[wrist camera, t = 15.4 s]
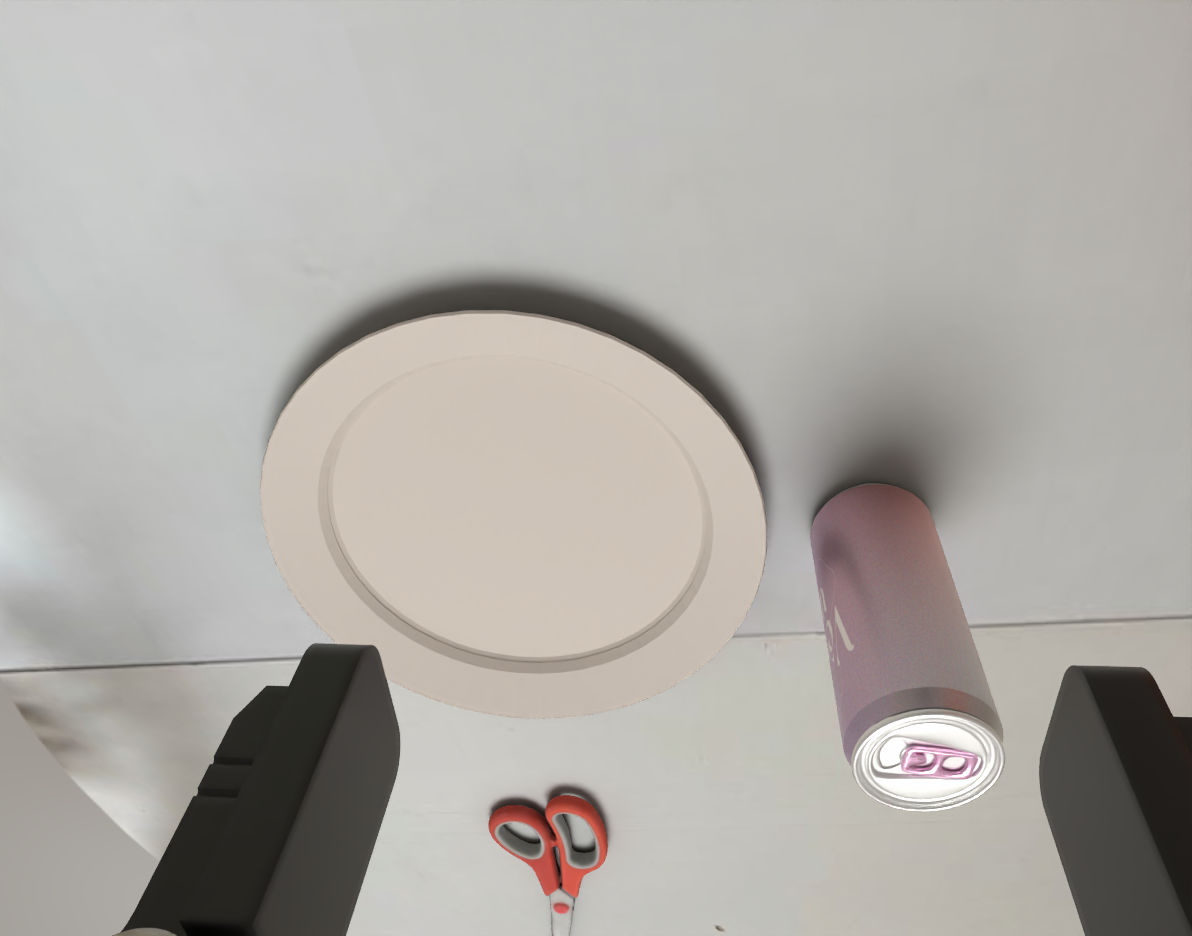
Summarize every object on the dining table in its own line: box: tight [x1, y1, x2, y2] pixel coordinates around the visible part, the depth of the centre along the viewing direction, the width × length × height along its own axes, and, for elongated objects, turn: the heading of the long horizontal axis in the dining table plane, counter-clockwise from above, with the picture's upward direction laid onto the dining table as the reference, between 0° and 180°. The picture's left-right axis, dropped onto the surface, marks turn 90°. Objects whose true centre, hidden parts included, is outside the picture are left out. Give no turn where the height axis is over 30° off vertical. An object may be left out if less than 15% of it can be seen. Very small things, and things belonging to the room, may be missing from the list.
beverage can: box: [810, 483, 1005, 812], centre depth 43 cm, size 6×6×15 cm
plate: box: [260, 310, 767, 719], centre depth 50 cm, size 26×26×2 cm
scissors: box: [489, 795, 608, 936], centre depth 68 cm, size 8×21×2 cm, turn 12°
